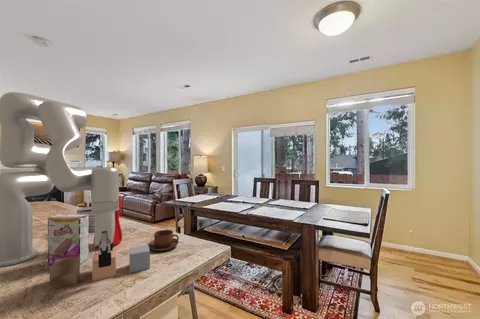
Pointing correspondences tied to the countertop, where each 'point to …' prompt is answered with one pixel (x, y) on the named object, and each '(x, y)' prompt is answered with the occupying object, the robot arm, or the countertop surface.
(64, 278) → the walnut block
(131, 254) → the slate grey block
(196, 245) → the countertop surface
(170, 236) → the cup and saucer
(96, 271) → the terracotta block
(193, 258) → the countertop surface
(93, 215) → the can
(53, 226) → the candy bar box
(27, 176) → the robot arm
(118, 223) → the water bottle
